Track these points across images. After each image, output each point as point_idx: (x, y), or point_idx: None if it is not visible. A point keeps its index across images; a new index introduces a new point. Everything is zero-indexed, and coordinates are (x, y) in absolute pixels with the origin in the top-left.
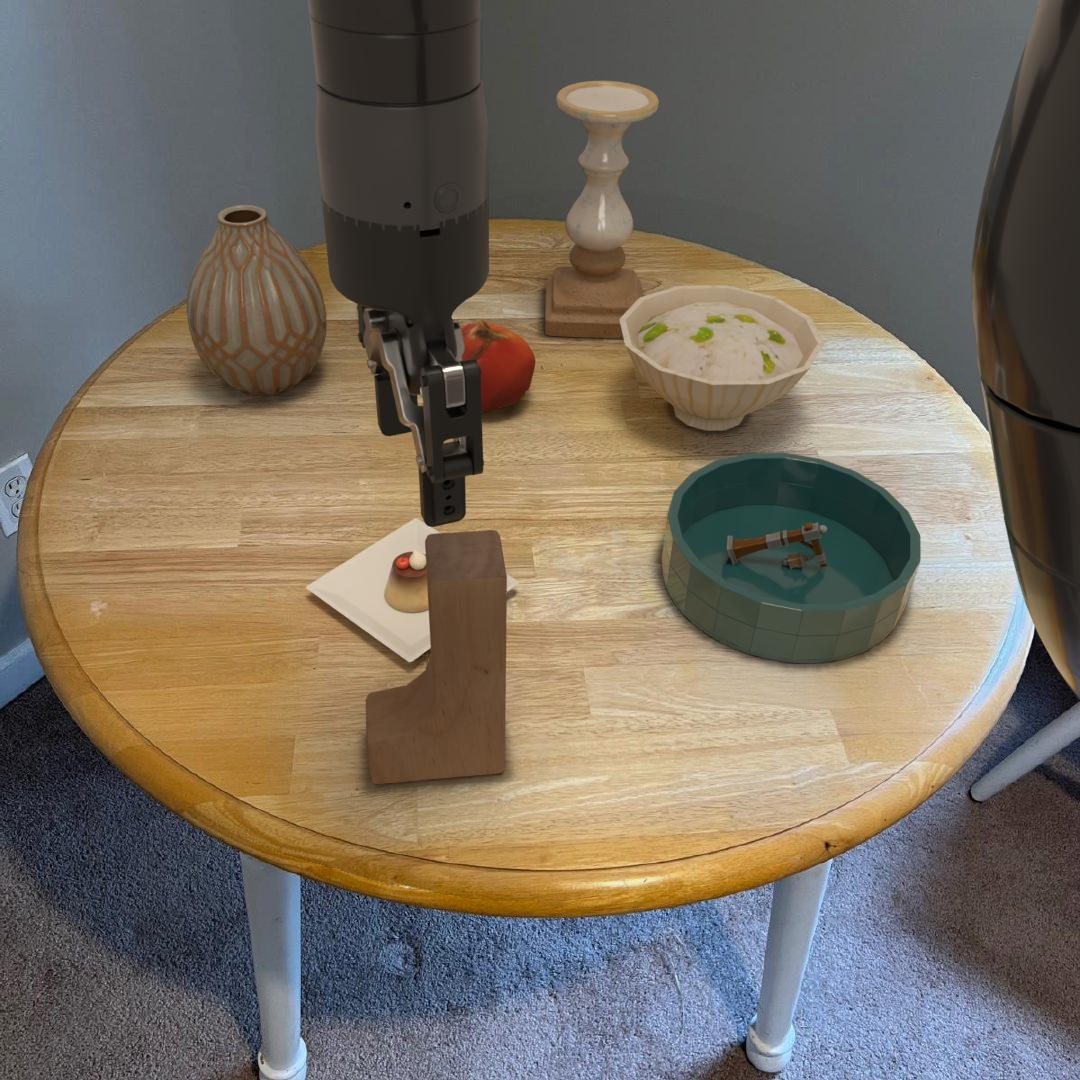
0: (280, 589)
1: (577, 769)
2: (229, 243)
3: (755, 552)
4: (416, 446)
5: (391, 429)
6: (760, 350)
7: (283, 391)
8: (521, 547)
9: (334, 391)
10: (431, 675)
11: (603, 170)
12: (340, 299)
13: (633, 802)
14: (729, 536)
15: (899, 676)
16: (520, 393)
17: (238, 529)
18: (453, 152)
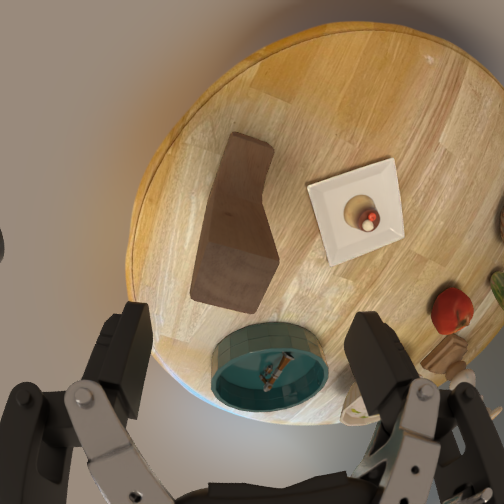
0: (401, 145)
1: (195, 238)
2: None
3: None
4: (101, 416)
5: (357, 325)
6: (361, 412)
7: (500, 216)
8: (355, 276)
9: (488, 238)
10: (241, 193)
11: None
12: None
13: (167, 253)
14: (293, 359)
15: (195, 367)
16: (431, 317)
17: (448, 148)
18: None
